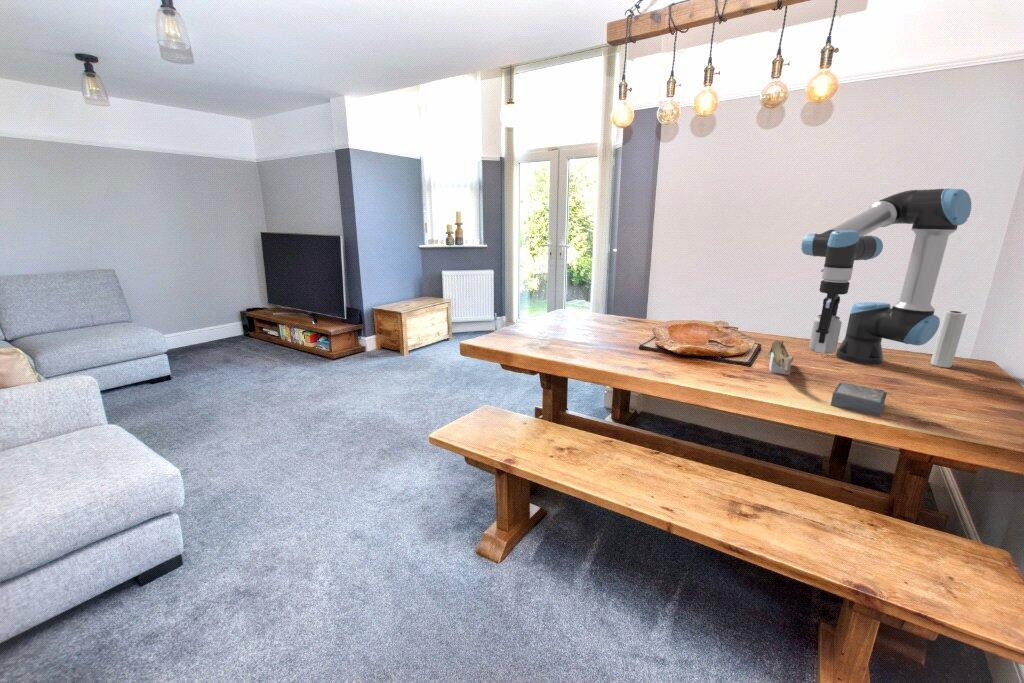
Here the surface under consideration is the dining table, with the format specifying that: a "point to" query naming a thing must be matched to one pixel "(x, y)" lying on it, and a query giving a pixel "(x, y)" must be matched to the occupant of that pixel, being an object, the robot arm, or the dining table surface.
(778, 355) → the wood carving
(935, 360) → the paper towel roll
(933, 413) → the dining table surface
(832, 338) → the can
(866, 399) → the plinth
